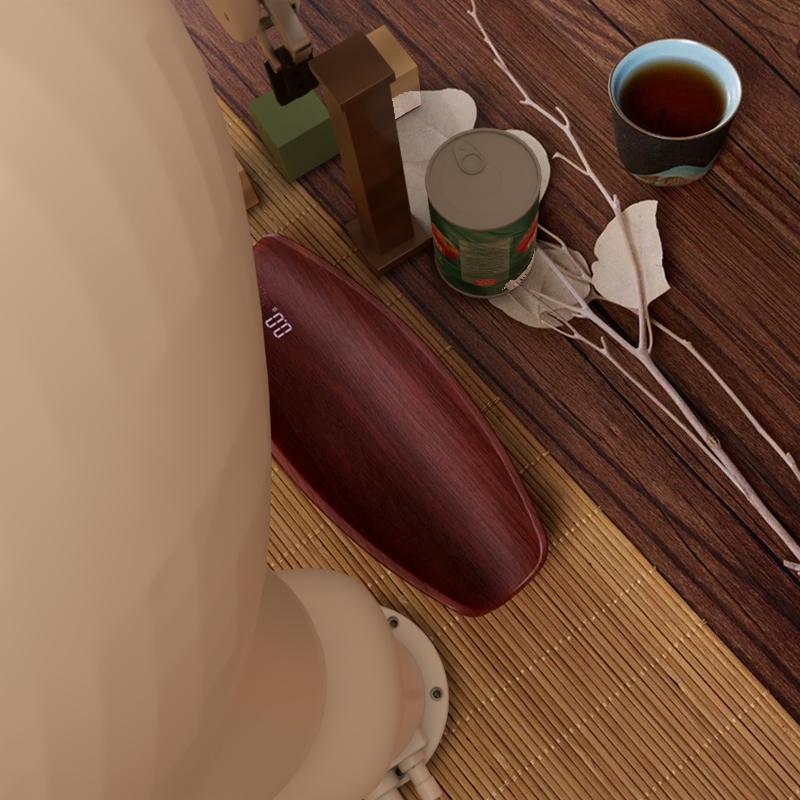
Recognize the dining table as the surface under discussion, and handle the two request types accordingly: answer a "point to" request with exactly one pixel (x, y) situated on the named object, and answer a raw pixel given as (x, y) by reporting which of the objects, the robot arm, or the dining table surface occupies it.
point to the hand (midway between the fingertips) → (264, 47)
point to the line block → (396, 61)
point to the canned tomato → (483, 210)
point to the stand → (369, 151)
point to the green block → (295, 132)
